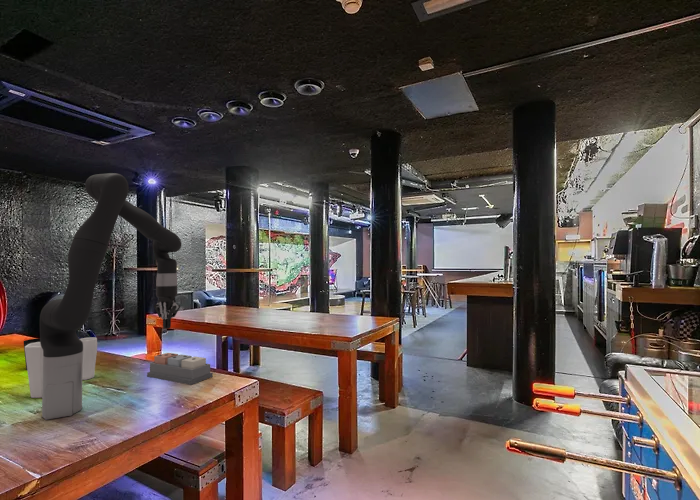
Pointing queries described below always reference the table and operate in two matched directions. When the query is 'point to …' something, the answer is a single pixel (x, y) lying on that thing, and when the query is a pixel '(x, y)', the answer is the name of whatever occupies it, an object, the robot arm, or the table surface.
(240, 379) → the table surface
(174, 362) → the slate tile
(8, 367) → the table surface
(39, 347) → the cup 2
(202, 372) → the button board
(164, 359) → the coral tile
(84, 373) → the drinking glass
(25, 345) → the cup
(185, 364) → the ivory tile
